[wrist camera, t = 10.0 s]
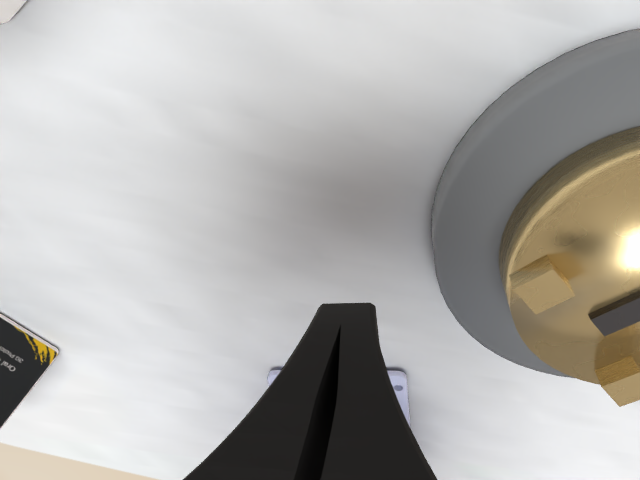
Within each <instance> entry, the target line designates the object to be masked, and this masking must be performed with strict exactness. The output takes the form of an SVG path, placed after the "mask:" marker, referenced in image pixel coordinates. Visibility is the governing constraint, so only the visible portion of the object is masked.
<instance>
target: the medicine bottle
mask: <svg viewBox="0 0 640 480" xmlns="http://www.w3.org/2000/svg"><path fill="white" fill-rule="evenodd" d="M58 353H59V351H58V349H57V348H56V347H54V346H53V345H51V344H49V343H48V342H46V341H44V340H43V339H41V338H40V337H38V336H36V335H35V334H33V333H31V332H30V331H28V330H27V329H25V328H23V327H22V326H20V325H18V324H17V323H15V322H13V321H12V320H10V319H9V318H7V317H5V316H4V315H2V314H0V429H1V428H2V427H3V425H4V424H5V423H6V422H7V420H8V419H9V418H10V416H11V415H12V414H13V413H14V411H15V410H16V409H17V407H18V406H19V405H20V404H21V402H22V401H23V400H24V398H25V397H26V396H27V395H28V393H29V392H30V391H31V389H32V388H33V387H34V386H35V384H36V383H37V382H38V380H39V379H40V378H41V377H42V375H43V374H44V373H45V371H46V370H47V369H48V368H49V366H50V365H51V364H52V362H53V361H54V360H55V359H56V357H57V356H58Z"/></svg>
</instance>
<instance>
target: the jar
mask: <svg viewBox="0 0 640 480" xmlns="http://www.w3.org/2000/svg"><path fill="white" fill-rule="evenodd" d="M26 1H27V0H0V24H3V23H6V22H8V21H10V19H11V18H12V17H13V16H14V15H15V14H16V13H17V12H18V10H19V9H20V8H21V7H22V6H23V5H24V4H25V3H26Z"/></svg>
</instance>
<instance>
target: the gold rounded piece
mask: <svg viewBox="0 0 640 480" xmlns="http://www.w3.org/2000/svg"><path fill="white" fill-rule="evenodd" d="M499 270H500V277H501V280H502V284H503V287H504V291H505V294H506V298H507V301H508V304H509V308H510V311H511V315H512V318H513V321H514V324H515V327H516V330H517V332H518V333H519V335H520V337H521V339H522V340H523V342H524V343H525V344H526V345H527V347H528V348H529V349H530V350H531V351H532V352H533V353H534V354H535V355H536V356H537V357H538V358H539V359H540V360H542V361H543V362H545V363H546V364H548V365H549V366H551V367H552V368H554V369H556V370H558V371H560V372H562V373H564V374H566V375H569V376H572V377H574V378H577V379H580V380H583V381H587V382H591V383H595V384H600V385H601V387H602V388H603V389H604V390H605V391H606V392H607V393H608V394H609V395H610V397H611V398H612V399H613V400H614V401H615V402H616V403H617V404H618V405H619V406H623V405H626V404H629V403H632V402H635V401H637V400H640V126H639V127H635V128H631V129H628V130H625V131H622V132H619V133H616V134H613V135H610V136H607V137H605V138H603V139H600V140H598V141H596V142H594V143H591V144H589V145H587V146H586V147H584V148H582V149H580V150H578V151H577V152H575V153H573V154H571V155H570V156H568V157H567V158H565V159H564V160H562V161H561V162H560V163H558V164H557V165H555V166H554V167H553V168H551V169H550V170H549V171H548V172H547V173H546V174H544V175H543V176H542V177H541V178H540V179H539V180H538V181H537V182H536V183H535V184H534V185H533V186H532V187H531V188H530V189H529V190H528V192H527V193H526V194H525V195H524V196H523V198H522V199H521V200H520V202H519V203H518V205H517V206H516V207H515V209H514V211H513V213H512V214H511V216H510V218H509V220H508V222H507V224H506V227H505V230H504V232H503V235H502V238H501V244H500V249H499Z"/></svg>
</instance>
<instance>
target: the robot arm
mask: <svg viewBox="0 0 640 480" xmlns="http://www.w3.org/2000/svg"><path fill="white" fill-rule="evenodd" d="M267 380H268V384H269V388H268V389H267V390H266V392H265V393H264V394H263V396H262V397H261V398H260V400H259V401H258V402H257V403H256V405H255V406H254V407H253V408H252V409H251V411H250V412H249V413H248V414H247V415H246V417H245V418H244V419H243V420H242V421H241V422H240V423H239V425H238V426H237V427H236V428H235V429H234V430H233V431H232V432H231V433H230V434H229V435H228V436H227V438H226V439H225V440H224V441H223V442H222V443H221V444H220V445H219V446H218V447H217V448H216V449H215V450H214V451H213V452H212V453H211V454H210V455H209V456H208V457H207V458H206V459H205V460H204V461H203V462H202V463H201V464H200V465H199V466H198V467H196V468H195V469H194V470H193V471H192V472H191V473H190V474H189V475H188V476H186V477H185V478H184V479H183V480H437V478H436V476H435V475H434V473H433V471H432V469H431V468H430V466H429V464H428V462H427V460H426V459H425V457H424V455H423V453H422V451H421V449H420V447H419V445H418V443H417V441H416V439H415V437H414V435H413V433H412V431H411V429H410V415H409V401H408V386H407V376H406V374H405V373H403V372H401V371H387V369H386V366H385V362H384V359H383V356H382V353H381V349H380V345H379V336H378V327H377V318H376V308H375V306H374V305H373V304H371V303H338V304H322V305H321V306H320V307H319V308H318V310H317V312H316V314H315V316H314V318H313V320H312V322H311V323H310V325H309V327H308V329H307V331H306V332H305V334H304V336H303V337H302V339H301V341H300V342H299V344H298V345H297V347H296V349H295V350H294V352H293V353H292V355H291V356H290V358H289V359H288V361H287V362H286V364H285V366H284V367H283V368H282V370H272V371H270V372H269V374H268V377H267Z"/></svg>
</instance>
